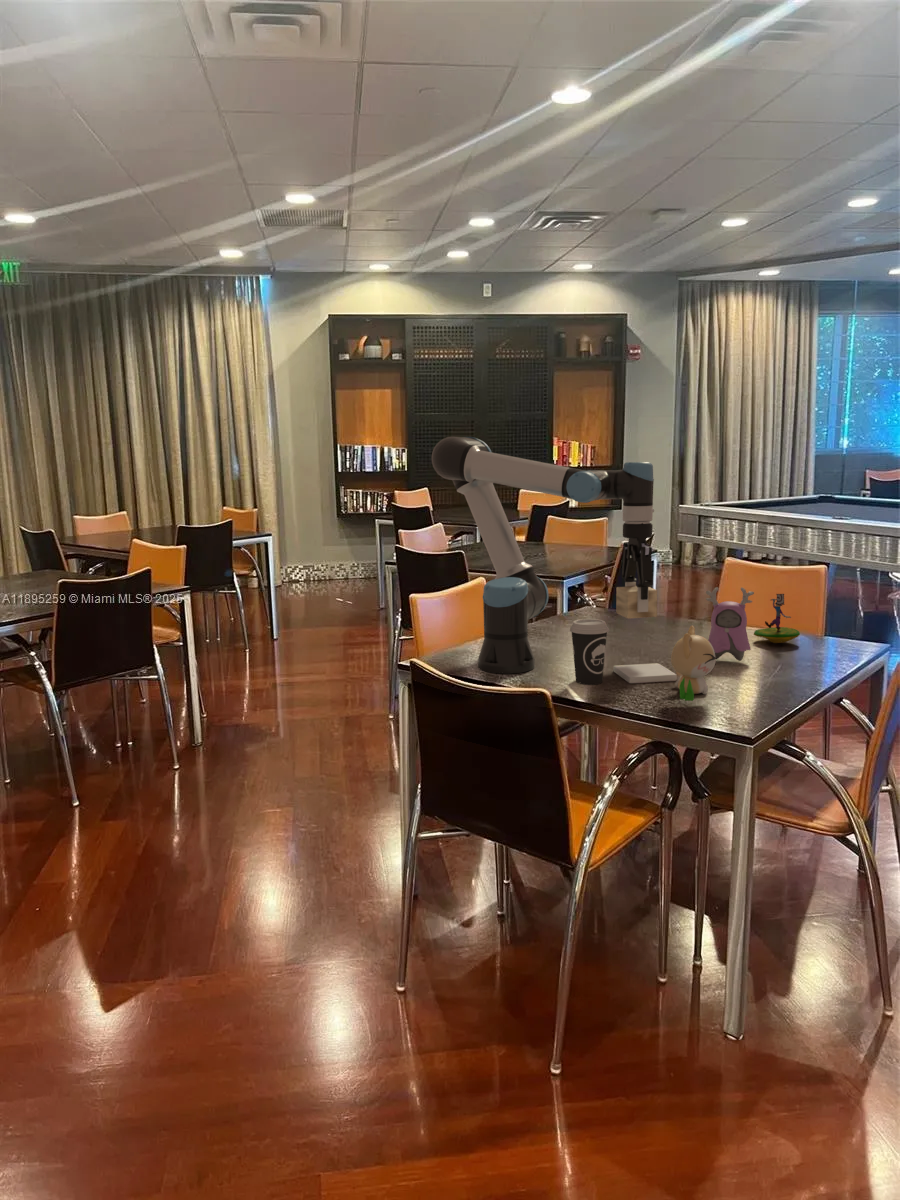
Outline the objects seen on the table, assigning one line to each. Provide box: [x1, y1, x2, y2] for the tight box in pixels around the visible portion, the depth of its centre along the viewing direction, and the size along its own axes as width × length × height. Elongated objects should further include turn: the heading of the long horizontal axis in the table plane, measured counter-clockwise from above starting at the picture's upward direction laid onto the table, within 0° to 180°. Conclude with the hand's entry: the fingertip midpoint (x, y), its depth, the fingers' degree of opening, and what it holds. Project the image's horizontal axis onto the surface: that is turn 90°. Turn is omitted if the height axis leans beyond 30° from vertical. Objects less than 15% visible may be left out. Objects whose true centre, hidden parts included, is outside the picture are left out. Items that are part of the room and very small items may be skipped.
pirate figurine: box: [753, 593, 801, 644], centre depth 239 cm, size 14×13×15 cm
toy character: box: [705, 586, 755, 662], centre depth 218 cm, size 12×10×20 cm
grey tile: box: [613, 662, 678, 684], centre depth 206 cm, size 12×12×2 cm
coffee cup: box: [569, 618, 610, 686], centre depth 201 cm, size 10×10×15 cm
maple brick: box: [615, 585, 658, 620], centre depth 215 cm, size 8×8×7 cm
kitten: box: [670, 625, 717, 702], centre depth 189 cm, size 15×10×15 cm, turn 156°
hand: (636, 608), depth 215 cm, fingers closed on maple brick, 8 cm apart
